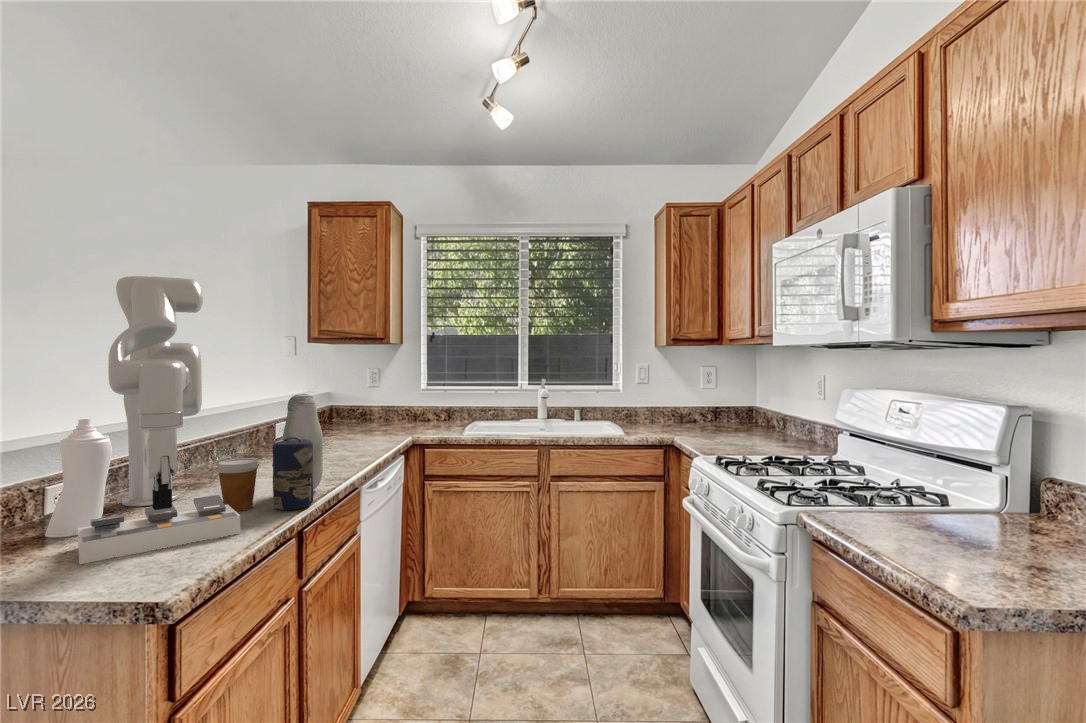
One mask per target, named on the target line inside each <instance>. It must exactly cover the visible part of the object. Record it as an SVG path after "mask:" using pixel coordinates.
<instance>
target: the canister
mask: <svg viewBox="0 0 1086 723" xmlns="http://www.w3.org/2000/svg"><path fill="white" fill-rule="evenodd" d="M289 439H297V440H289ZM271 466H272V494H273V502H272V504H273V507H274V508H276V509H277V510H283V511H284V510H286V511H287V510H288V511H289V510H297V509H303V508H304V509H305V508H306V507H309V506H311V505H312V504H313V503H314V490H313V443H312V441H310V440H306V439H298V438H295V437H290V438H287V439H285V440H284V441H283V440H279V441H276V442H274V443H273V445H272V464H271Z"/></svg>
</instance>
